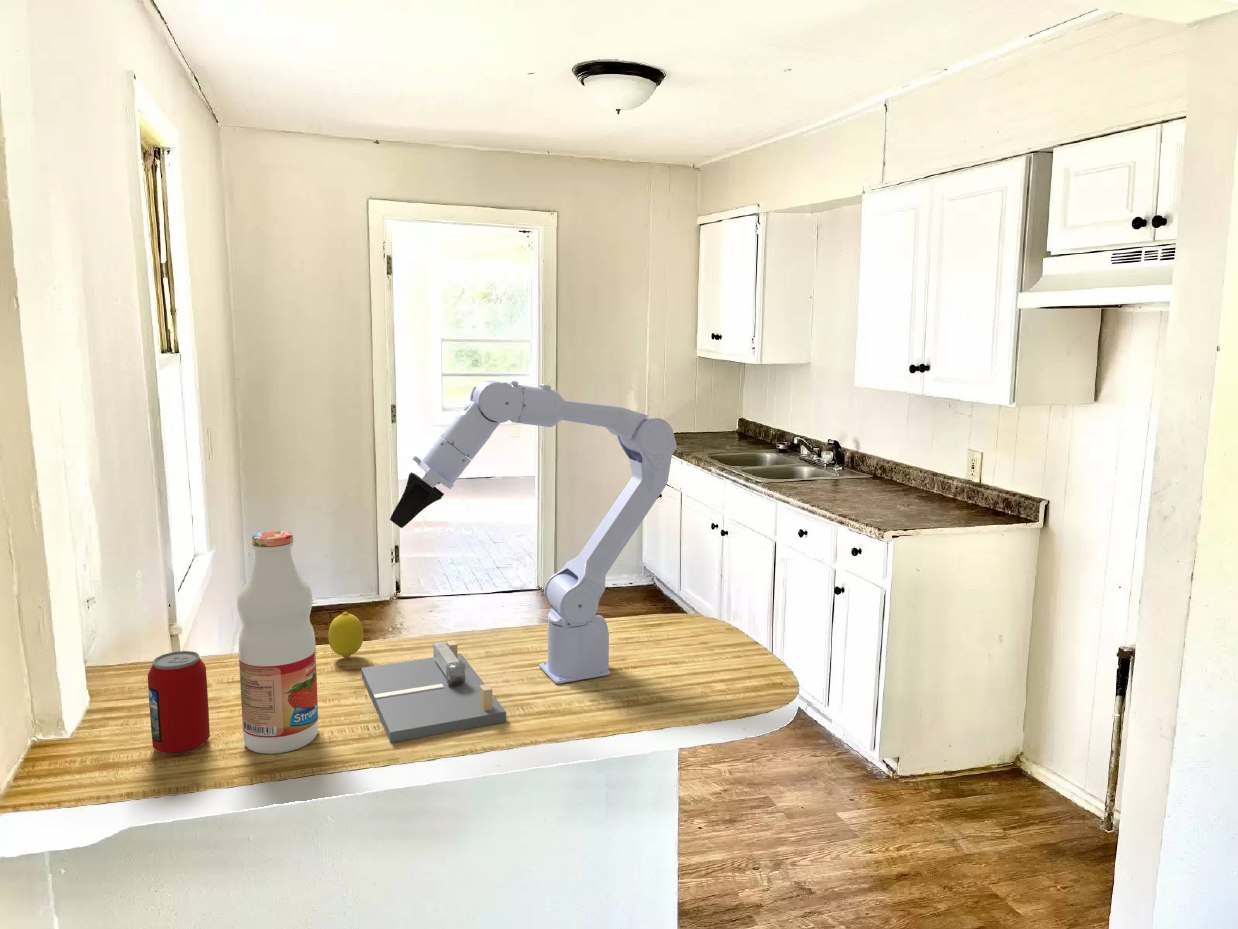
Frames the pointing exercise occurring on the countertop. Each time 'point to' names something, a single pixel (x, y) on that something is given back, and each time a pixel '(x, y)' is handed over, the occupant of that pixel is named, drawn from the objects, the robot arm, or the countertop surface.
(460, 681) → the lock bar
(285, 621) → the fruit juice
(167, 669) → the beverage can
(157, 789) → the countertop surface
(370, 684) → the plate
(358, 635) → the lemon
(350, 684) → the countertop surface
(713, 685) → the countertop surface
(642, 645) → the countertop surface
